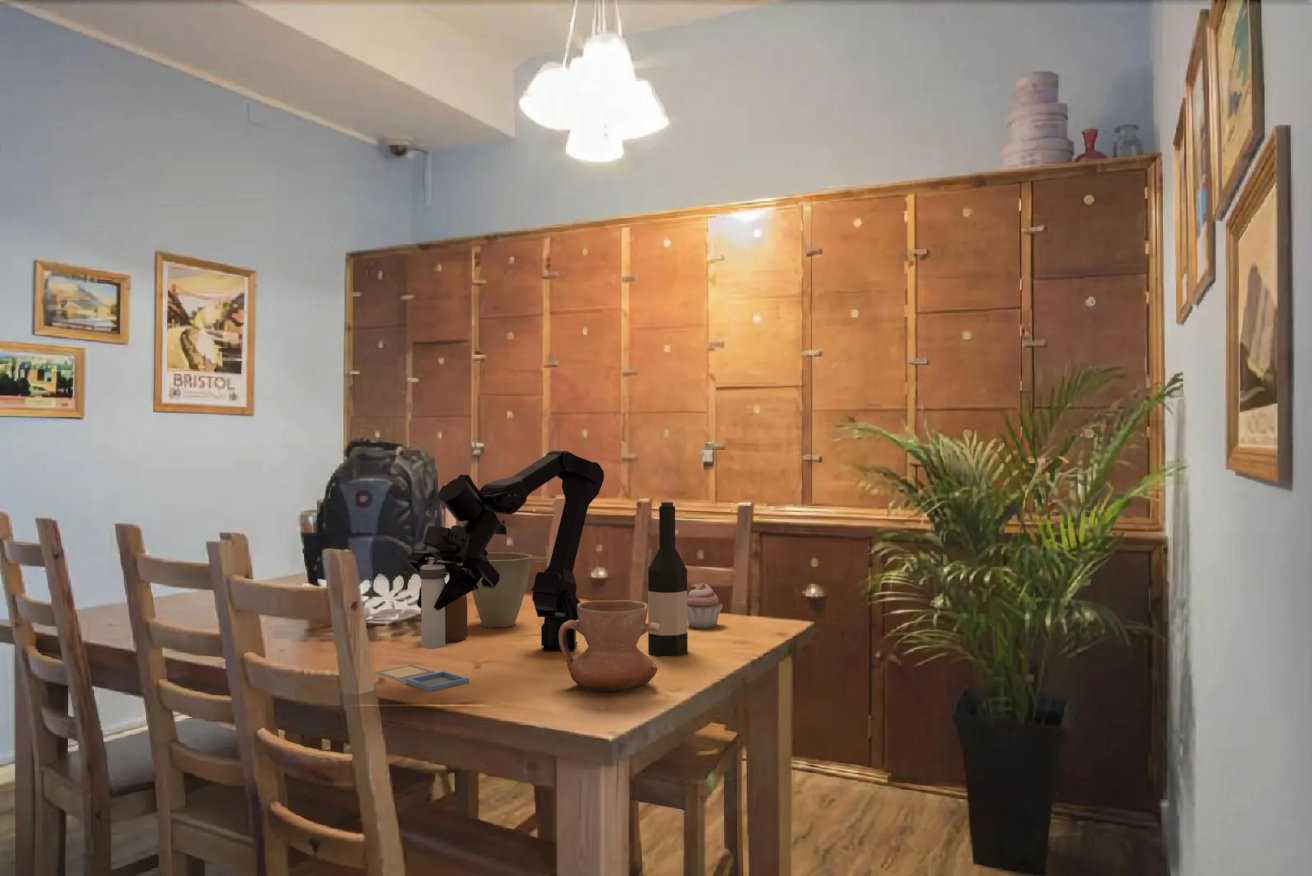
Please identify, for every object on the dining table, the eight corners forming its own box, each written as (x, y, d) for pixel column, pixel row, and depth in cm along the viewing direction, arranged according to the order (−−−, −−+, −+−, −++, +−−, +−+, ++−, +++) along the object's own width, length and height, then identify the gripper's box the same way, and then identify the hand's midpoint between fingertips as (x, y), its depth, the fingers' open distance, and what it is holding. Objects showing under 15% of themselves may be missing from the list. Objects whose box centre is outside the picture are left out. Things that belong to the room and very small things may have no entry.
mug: (435, 648, 185) (435, 602, 185) (408, 644, 189) (408, 599, 189) (474, 637, 195) (474, 593, 195) (448, 634, 199) (448, 591, 199)
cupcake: (678, 629, 203) (678, 584, 203) (686, 621, 212) (686, 578, 212) (719, 631, 201) (719, 586, 201) (726, 623, 210) (725, 580, 210)
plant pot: (481, 634, 199) (481, 561, 199) (456, 623, 211) (456, 555, 211) (542, 626, 207) (542, 557, 207) (515, 616, 219) (515, 550, 219)
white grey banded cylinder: (445, 642, 160) (445, 563, 160) (447, 648, 156) (446, 567, 156) (420, 644, 159) (419, 564, 159) (420, 650, 154) (420, 568, 154)
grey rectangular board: (372, 674, 164) (372, 668, 164) (411, 666, 170) (411, 660, 170) (430, 693, 151) (430, 687, 151) (470, 684, 157) (470, 678, 157)
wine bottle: (640, 655, 178) (640, 503, 178) (655, 646, 186) (654, 500, 186) (680, 658, 175) (680, 503, 175) (694, 649, 183) (693, 501, 183)
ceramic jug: (670, 679, 159) (669, 599, 160) (650, 702, 145) (649, 614, 145) (573, 673, 164) (573, 595, 164) (545, 695, 150) (544, 609, 150)
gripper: (414, 507, 166) (365, 574, 157) (487, 510, 155) (439, 583, 146) (447, 545, 172) (401, 612, 163) (519, 551, 162) (474, 624, 152)
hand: (427, 607), depth 156 cm, fingers closed on white grey banded cylinder, 4 cm apart
